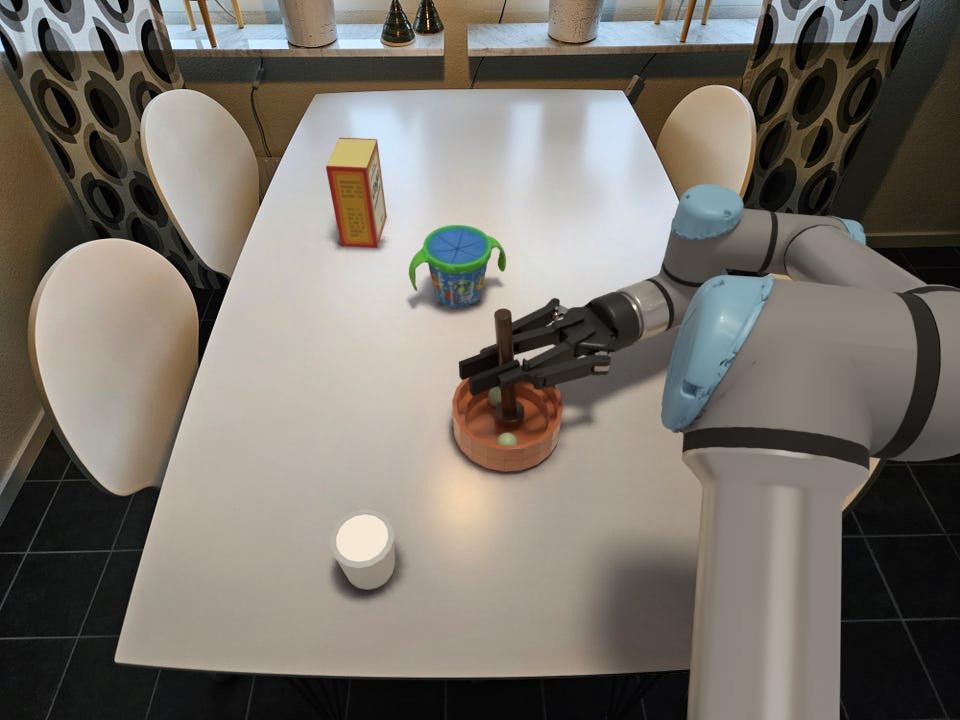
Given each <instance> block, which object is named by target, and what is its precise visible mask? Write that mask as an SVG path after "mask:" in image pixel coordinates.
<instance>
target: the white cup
mask: <svg viewBox="0 0 960 720" xmlns="http://www.w3.org/2000/svg"><path fill="white" fill-rule="evenodd" d="M329 540H330V541H329V542H330V550H331V552H332V554H333V556H334V558H335V559H336V561H337V563H338V564H339V566H340V568H341V570H342V571H343V573H344V575H345V576H346V577H347V579H348V581H349V583H351V584H352V585H353V586H354V587H356V588H357V589H362V590H366V591H368V590H374V589H378V588H380V587H381V586H383V585H385V584H386V583H387V582H388V581H389V580H390V578H391V577H392V576H393V573H394V569H395V567H396V559H395V558H396V557H395V555H396V554H395V532H394V525H393V524H392V523H391V520H390V519H389V518H388V516H386V515H384V514H383V513H382V512H380V511H378V510H373V509H369V508H364V509H358V510H353V511H352V512H349V513H347V514H346V515H344V516H342V518H341V519H340V520H339V521H338V522H337V523H336V524H335V525H334V527H333V530H332V532H331V534H330V537H329Z"/></svg>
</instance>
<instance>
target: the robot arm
mask: <svg viewBox="0 0 960 720" xmlns="http://www.w3.org/2000/svg"><path fill="white" fill-rule="evenodd" d="M668 236H669V237H668V240H667V245H666V248H665V252H664V257H663V259H662V262H661V266H660V270H659V273H658V274H657V275H654V276H652V277H648V278H646V279H644V280H641V281H638V282H636V283H633V284H630V285H627V286H624V287H621V288H618V289H616V290H615V291H611V292H608V293H605V294H603V295H600V296H598V297H594V298H592V299H591V300H589V302H587V303H586V304H584V305H583V306H572V307H570V308H568V307H566V306H563V305H562V304H560V303H561V300H560V299H559V298H557V297H552V298H551V299H550V300H549V301H548V302H547V303H546V305H544V306H542V307H540V308H538V309H536V310H534V311H533V312H530V313H528V314H526V315H524V316H522V317H520V318H518V319H516V320H514V321H512V332H513V349H514V356H517V355H520V354H523V353H527V352H530V351H534V350H537V349H541V348H544V347H549V346H552V345H553V347H551V348H549V349H547V350H545V351H543V352H541V353H539V354H538V355H535V356H533V357H532V358H529V359H526V358H525V357H524V358H523V359H522V360H521V361H522V363H521V362H520V361H519V360H518V358H516V359H514V360H513V361H511V362H508V363H505V364H503V365H500V366H498V356H497V344H496V343H494V344H491V345H488V346H486V347H483V348H481V349H480V350H479V353H478V354H475V355H473V356H470V357H467V358H465V359H462V360H460V361H458V377H459V378H460V380H461V381H463V380H464V379H467V378H469V385H470V393H471V395H472V396H474V395H477V394H479V393H482V392H485V391H487V390H490V389H492V388H495V387H497V386H499V387H500V388H507V387H509V386H512V385H514V384H517V383H519V382H522V381H525V382H530V383H531V384H533V387H534V388H535V389H536V390H541V389H544V388H548V387H551V386H559V385H561V384H565V383H568V382H573V381H576V380H580V379H583V378H586V377H590V376H608V374H609V372H610V367H611V362H612V356H610V354H612V353H616V352H619V351H621V350H624V349H626V348H629V347H631V346H633V345H634V344H636V343H640V342H643V341H645V340H647V339H650V338H652V337H655V336H658V335H660V334H663V333H664V332H667V331H669V330H671V329H673V328H676V327H678V326H680V327H679V329H678V333H677V336H676V339H675V342H674V346H673V350H672V353H671V355H670V360H669V364H668V368H667V372H666V377H665V382H664V387H663V392H662V398H661V413H660V419H661V423H662V426H663V427H664V428H665V429H667V430H670V431H671V432H672V433H673V434H679V433H682V437H683V438H682V450H681V451H682V452H681V461H682V462H683V463H684V464H685V466H686V467H687V468H688V469H689V471H690V472H691V473H692V474H693V475H694V476H695V477H696V479H697V480H698V481H699V483H700V485H701V487H702V489H701V503H700V518H699V533H698V547H697V561H696V562H697V563H696V579H695V591H694V592H695V593H694V606H693V607H694V609H693V623H692V624H693V625H692V639H691V650H690V651H691V653H690V667H689V681H688V698H687V714H686V720H840V717H841V716H840V714H841V713H840V709H841V707H840V706H841V632H842V631H841V629H842V627H841V625H842V624H841V622H842V620H841V619H842V617H841V616H842V615H841V614H842V548H843V547H842V540H843V539H842V535H843V534H842V533H843V503H844V501H845V500H846V498H847V497H848V496H849V495H850V494H851V493H853V492H854V491H855V490H856V489H857V488H859V487H860V486H862V485H863V484H865V482H866V481H867V480H870V473H871V471H870V469H871V465H870V464H871V462H870V461H871V458H872V459H873V458H874V459H879V460H880V459H881V460H890V461H896V462H926V461H933V460H939V459H943V458H949V457H952V456H955V455H958V454H960V288H958V287H954V286H951V285H945V284H927V283H926V282H925V281H923V280H921V279H919V278H918V277H916V276H915V275H913V274H911V273H910V272H909V271H907V270H906V269H904V268H902V267H901V266H900V265H897V264H896V263H894V262H892V261H891V260H890V259H888V258H886V257H885V256H883V255H881V254H880V253H879V252H877V251H876V250H874V249H872V248H871V247H869V246H868V245H867V238H866V233H864V226H863V225H862V224H861V223H860V222H858V221H856V220H853V219H846V218H840V217H837V216H834V215H824V216H823V215H809V214H797V213H786V212H774V211H769V210H764V209H754V208H753V209H752V208H744V201H743V199H742V197H741V196H740V195H739V193H738V192H736V191H735V190H734V189H731V188H729V187H728V188H725V187H723V186H721V185H720V184H715V183H702V184H698V185H695V186H692V187H690V188H689V189H687V190H686V191H685V192H684V193H683V194H682V195H681V197H680V199H679V202H678V204H677V208H676V211H675V214H674V217H673V218H672V220H671V224H670V232H669V235H668ZM727 269H728V270H734V271H735V270H737V271H744V272H753V273H761V274H762V273H763V274H767V275H764V276H745V275H730V274H728V271H727ZM775 275H779V276H787V277H788V278H789V279H784V278H775ZM520 365H522V366H520Z"/></svg>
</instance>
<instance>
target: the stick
mask: <svg viewBox="0 0 960 720" xmlns="http://www.w3.org/2000/svg"><path fill="white" fill-rule="evenodd" d="M512 316H513V315H512V312H511V310H509V308H499V309H497V310H495V311H494V314H493V318H494V329H495V344H497V356H498V366H500V365H503V364H505V363H508V362H511V361H513V360H515V355H514V349H513V332H512V322H513V317H512ZM500 393H501V402H500V403H498V404H497V405H496V407H495V419H496V421H497V423H498V424H500V425H501V426H504V427H515V426H518V425H519V424H521V423H522V422H523V420H524V417H525V411H524V406H523V405H522V404H521V403H520V402H519V401H517V400H516V385H515V384H514V385H512V386H509V387H507V388H500Z"/></svg>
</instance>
